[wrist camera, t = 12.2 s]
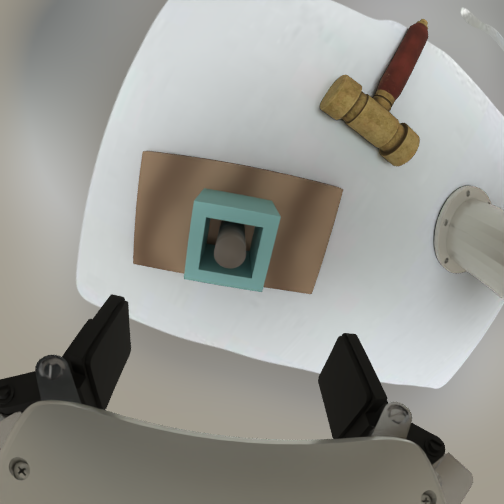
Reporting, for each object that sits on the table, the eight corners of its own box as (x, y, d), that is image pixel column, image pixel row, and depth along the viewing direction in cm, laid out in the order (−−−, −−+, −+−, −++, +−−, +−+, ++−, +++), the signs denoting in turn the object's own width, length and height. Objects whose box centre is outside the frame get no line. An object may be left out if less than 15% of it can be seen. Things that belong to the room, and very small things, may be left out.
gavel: (402, -13, 15) (462, 43, 18) (385, 1, 20) (441, 50, 22) (329, 103, 20) (408, 168, 23) (314, 111, 25) (385, 166, 27)
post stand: (338, 187, 28) (373, 205, 20) (308, 287, 32) (328, 332, 24) (147, 151, 25) (111, 155, 17) (137, 258, 30) (108, 296, 22)
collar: (272, 200, 26) (280, 216, 21) (257, 262, 29) (261, 292, 23) (204, 188, 26) (194, 200, 20) (194, 251, 28) (183, 278, 22)
